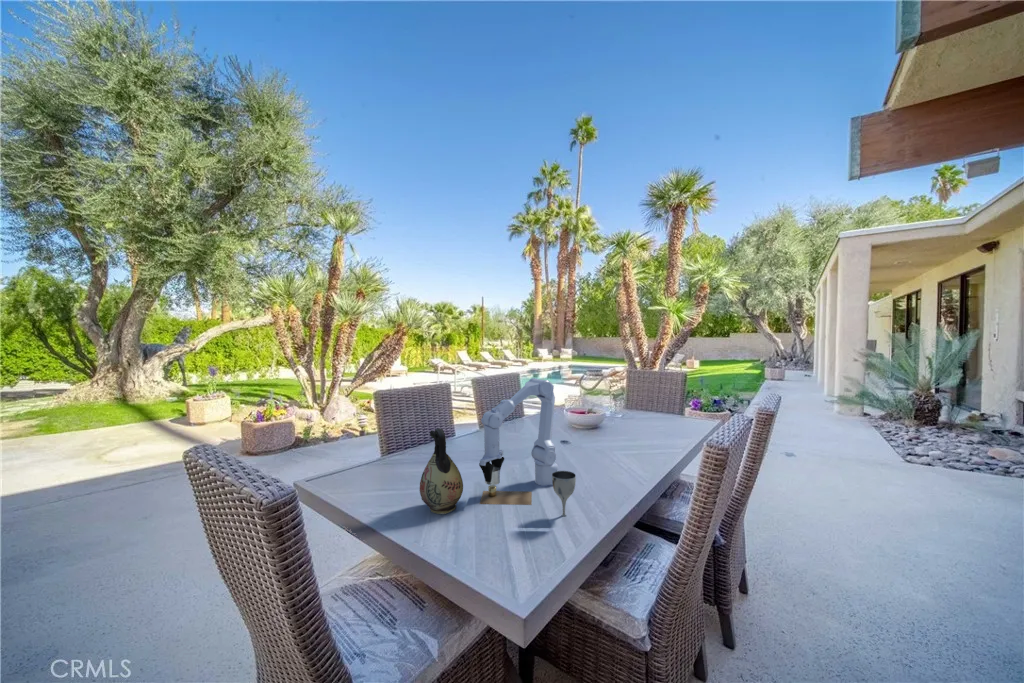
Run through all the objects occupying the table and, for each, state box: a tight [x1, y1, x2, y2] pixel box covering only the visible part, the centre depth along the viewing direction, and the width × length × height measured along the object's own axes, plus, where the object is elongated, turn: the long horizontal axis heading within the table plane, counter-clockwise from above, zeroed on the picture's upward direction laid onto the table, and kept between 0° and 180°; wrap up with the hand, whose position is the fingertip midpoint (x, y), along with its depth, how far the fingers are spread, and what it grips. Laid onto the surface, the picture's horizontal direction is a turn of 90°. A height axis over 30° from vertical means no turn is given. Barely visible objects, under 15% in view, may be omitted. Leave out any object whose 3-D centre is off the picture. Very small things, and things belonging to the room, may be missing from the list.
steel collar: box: [484, 467, 501, 486], centre depth 152 cm, size 6×6×5 cm
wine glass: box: [552, 470, 577, 518], centre depth 136 cm, size 8×8×15 cm
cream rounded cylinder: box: [487, 485, 497, 497], centre depth 153 cm, size 3×3×4 cm
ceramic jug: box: [419, 427, 464, 515], centre depth 143 cm, size 17×15×30 cm
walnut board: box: [479, 490, 533, 506], centre depth 151 cm, size 19×12×1 cm, turn 87°
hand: (492, 478), depth 153 cm, fingers closed on steel collar, 6 cm apart
